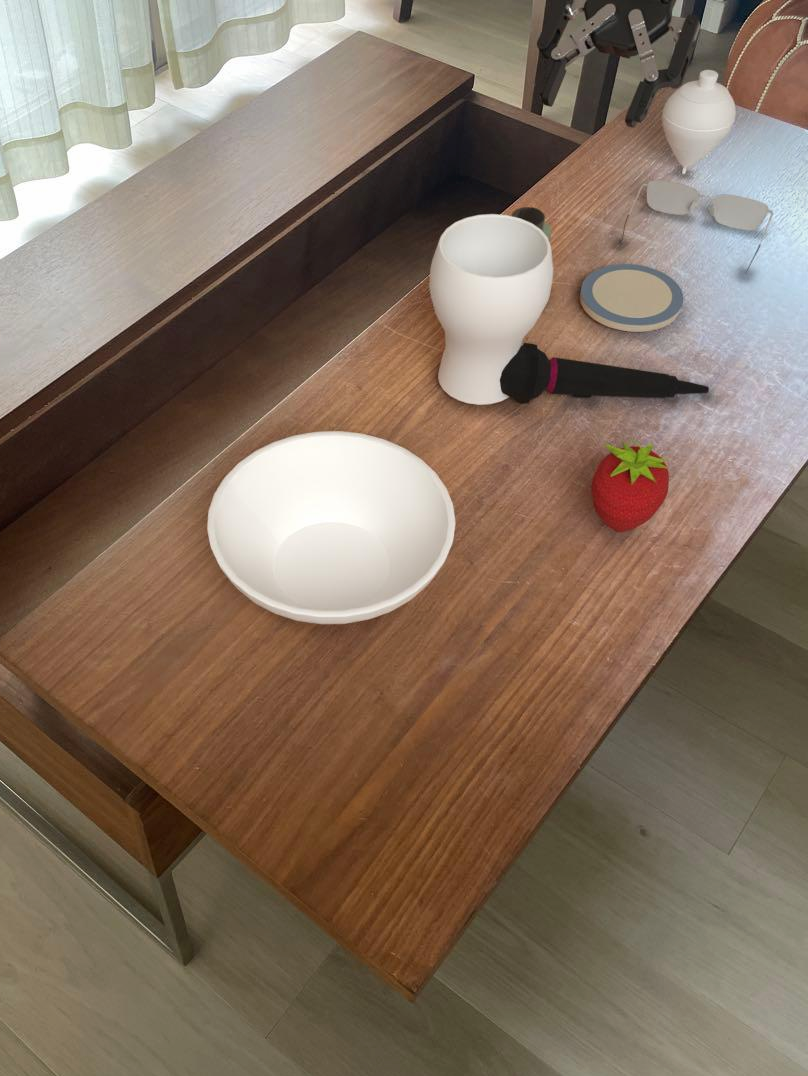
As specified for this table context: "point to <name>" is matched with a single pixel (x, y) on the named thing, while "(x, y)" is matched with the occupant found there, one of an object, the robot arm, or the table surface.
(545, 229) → the pepper shaker
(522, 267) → the cup
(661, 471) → the strawberry
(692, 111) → the spinning top
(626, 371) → the microphone
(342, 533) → the bowl
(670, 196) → the eyeglasses
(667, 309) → the saucer
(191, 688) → the table surface
